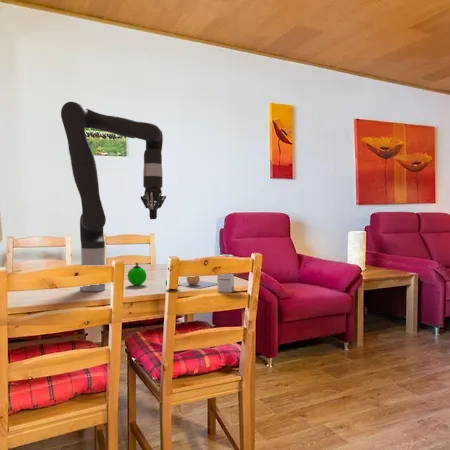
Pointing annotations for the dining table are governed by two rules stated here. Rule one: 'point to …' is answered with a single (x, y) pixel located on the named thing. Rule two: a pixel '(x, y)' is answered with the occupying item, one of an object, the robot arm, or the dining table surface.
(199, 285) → the slate mark
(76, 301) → the dining table surface
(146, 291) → the dining table surface
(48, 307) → the dining table surface
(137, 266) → the ornament
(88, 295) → the dining table surface
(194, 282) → the orange ball
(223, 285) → the syrup box
